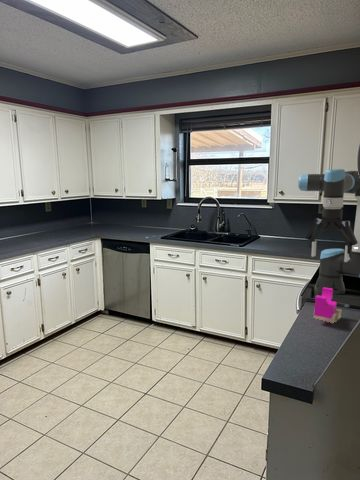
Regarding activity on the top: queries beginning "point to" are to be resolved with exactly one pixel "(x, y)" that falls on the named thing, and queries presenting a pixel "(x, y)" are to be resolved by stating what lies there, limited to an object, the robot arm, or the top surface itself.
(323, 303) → the toy block
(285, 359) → the top surface
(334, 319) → the riser
